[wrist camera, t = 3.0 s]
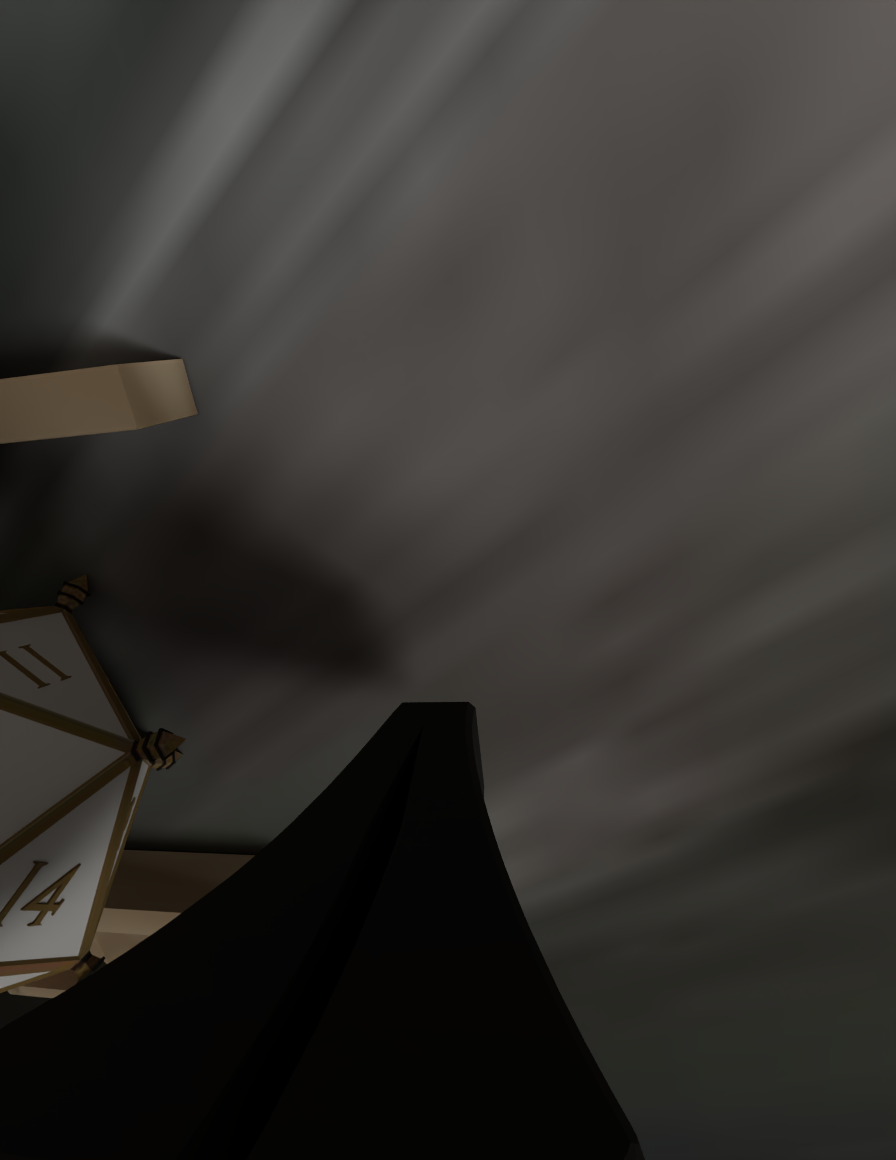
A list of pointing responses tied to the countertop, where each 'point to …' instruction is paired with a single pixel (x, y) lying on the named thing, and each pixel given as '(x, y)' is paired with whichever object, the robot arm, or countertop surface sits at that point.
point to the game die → (62, 790)
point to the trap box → (91, 406)
